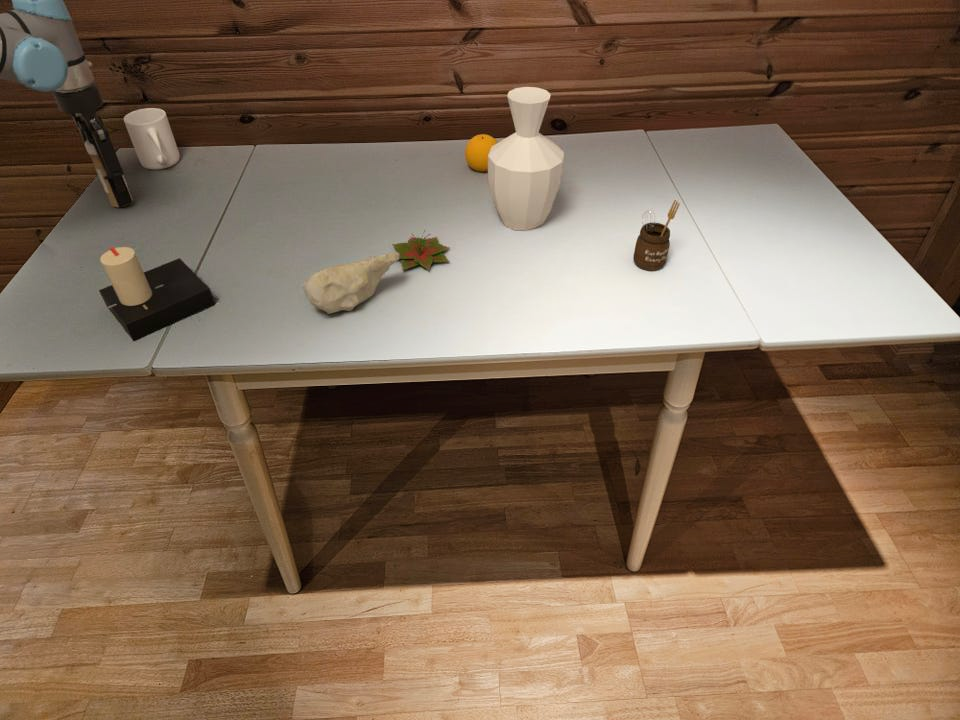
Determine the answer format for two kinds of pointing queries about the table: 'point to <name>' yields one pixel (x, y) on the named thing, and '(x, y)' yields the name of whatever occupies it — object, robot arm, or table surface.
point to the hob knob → (126, 276)
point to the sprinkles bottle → (103, 174)
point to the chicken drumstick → (347, 283)
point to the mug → (152, 138)
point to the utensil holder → (653, 243)
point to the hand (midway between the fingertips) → (121, 199)
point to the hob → (161, 300)
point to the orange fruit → (479, 151)
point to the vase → (525, 164)
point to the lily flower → (420, 252)
